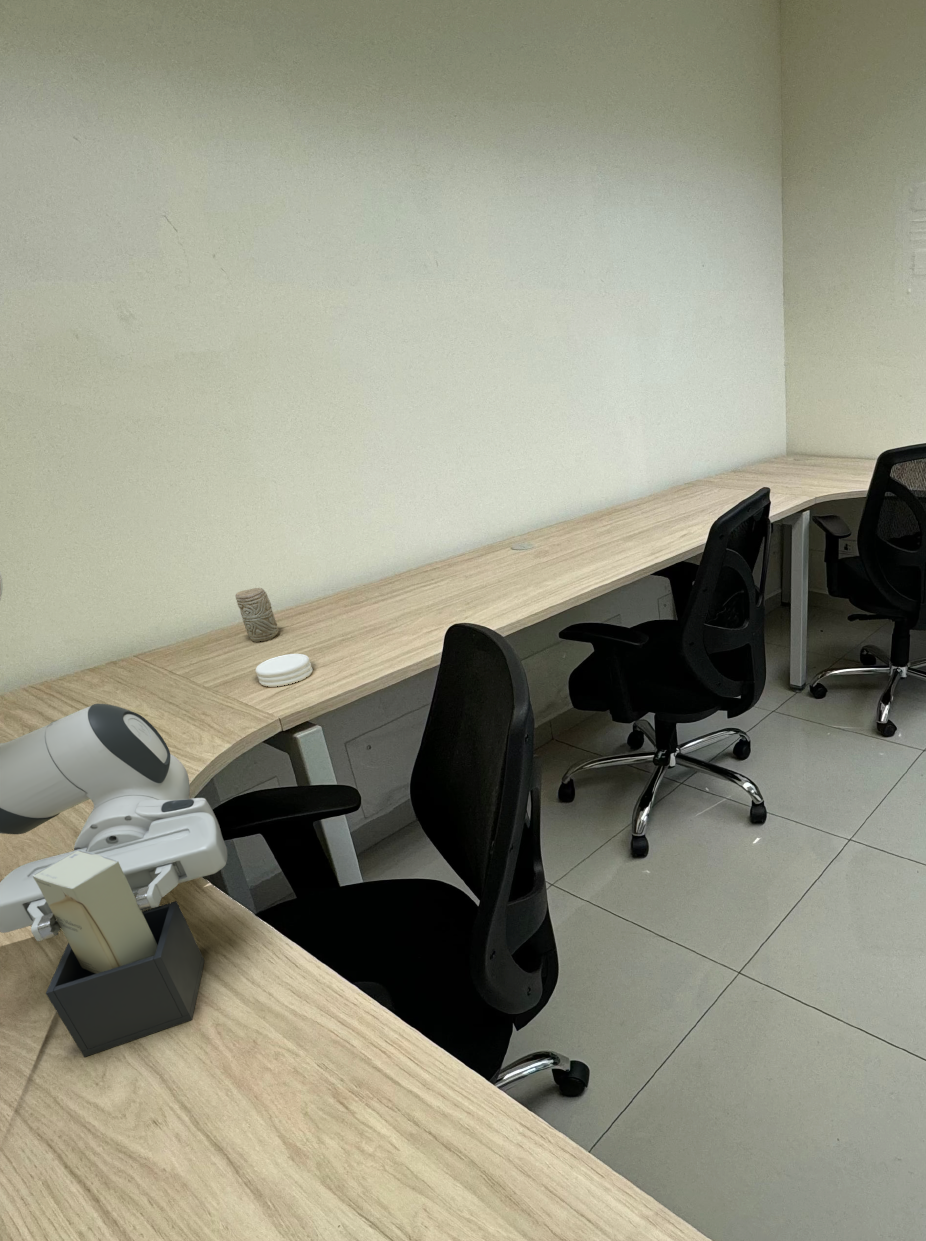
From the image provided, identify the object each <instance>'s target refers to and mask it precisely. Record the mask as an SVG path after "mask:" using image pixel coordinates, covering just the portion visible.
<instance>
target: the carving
mask: <svg viewBox="0 0 926 1241" xmlns="http://www.w3.org/2000/svg"><path fill="white" fill-rule="evenodd" d="M234 597H235V600H236V604H237V607H238V609H239V612H240V615H241V620H242V623H243V624H244V629H245V632H246V633H247V635H248V638H249V639H250V640H251V641H252V642H255V643H260V641H261V642H267V641H269V640H271V639H273V638H275V637H276V636H277V635H278V633H279V626H278V623H277V621H276V618H275V617H276V616H275V614H274V610H273V607H272V603H271V601H270V599H269V596H268V593H267V592H266V591H265V590H264V588H262V587H254V588H249V589H245V590H240V591H238V592H236V593H235V596H234Z"/></svg>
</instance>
